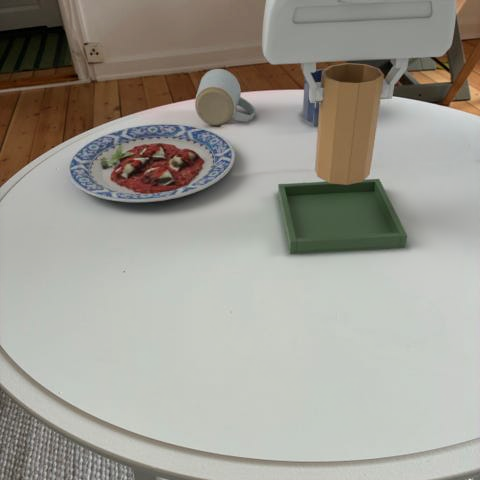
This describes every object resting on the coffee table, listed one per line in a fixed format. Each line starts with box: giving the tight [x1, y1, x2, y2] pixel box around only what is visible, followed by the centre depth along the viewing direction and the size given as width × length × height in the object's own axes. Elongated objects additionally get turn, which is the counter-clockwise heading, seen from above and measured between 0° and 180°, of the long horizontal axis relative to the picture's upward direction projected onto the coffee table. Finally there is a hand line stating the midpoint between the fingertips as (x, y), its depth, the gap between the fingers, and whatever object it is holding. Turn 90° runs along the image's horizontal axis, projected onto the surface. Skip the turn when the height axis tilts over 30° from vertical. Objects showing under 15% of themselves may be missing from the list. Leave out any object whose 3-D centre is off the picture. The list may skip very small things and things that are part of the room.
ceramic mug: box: [194, 68, 257, 127], centre depth 97 cm, size 11×8×8 cm
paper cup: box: [314, 62, 385, 185], centre depth 64 cm, size 7×7×12 cm
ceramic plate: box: [67, 123, 236, 203], centre depth 84 cm, size 26×26×3 cm
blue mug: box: [302, 68, 326, 128], centre depth 95 cm, size 13×10×7 cm
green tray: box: [277, 178, 408, 255], centre depth 73 cm, size 15×15×2 cm
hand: (349, 99), depth 62 cm, fingers closed on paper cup, 6 cm apart
